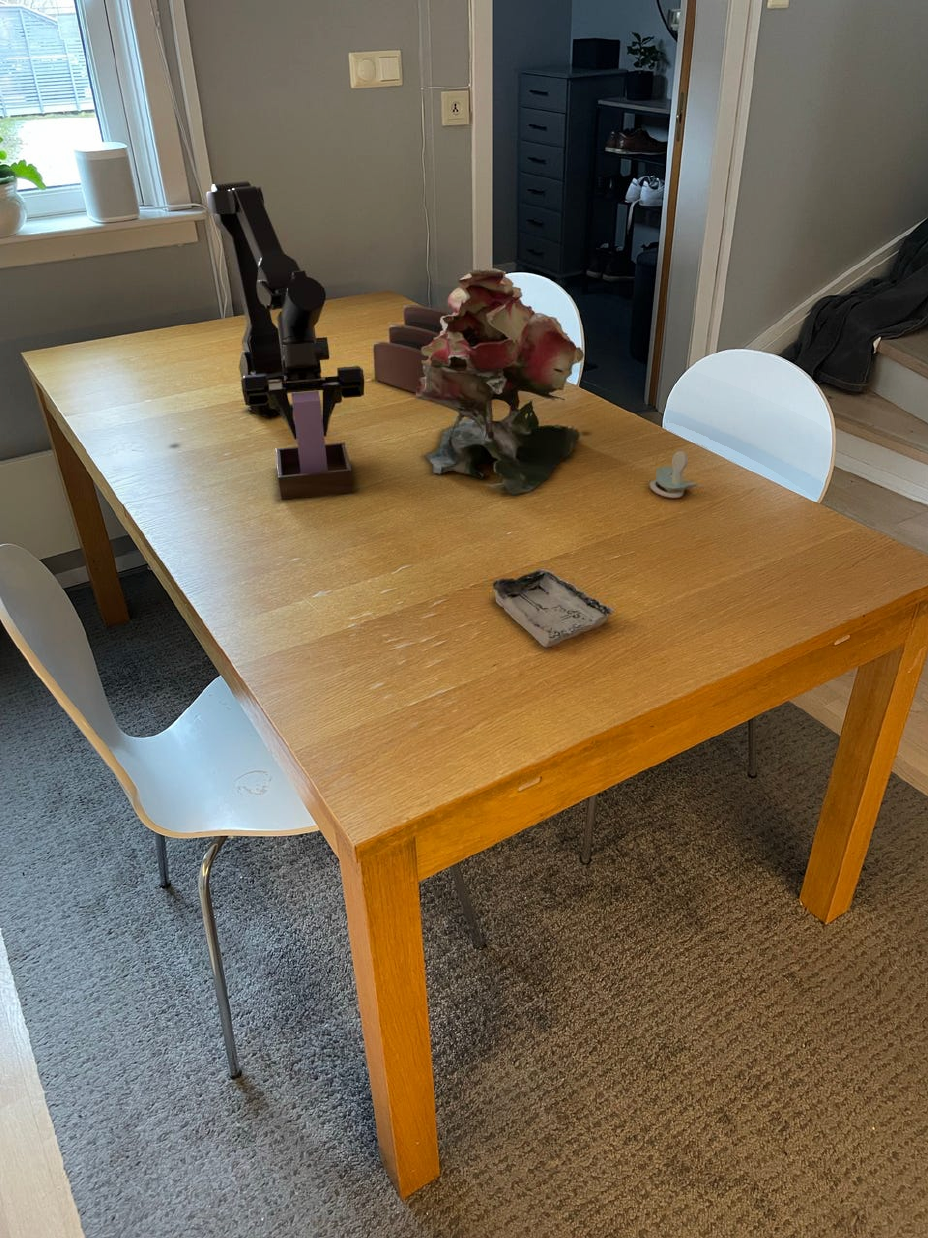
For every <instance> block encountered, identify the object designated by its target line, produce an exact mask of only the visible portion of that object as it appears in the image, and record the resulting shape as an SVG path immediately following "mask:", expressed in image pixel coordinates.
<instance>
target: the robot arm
mask: <svg viewBox="0 0 928 1238" xmlns="http://www.w3.org/2000/svg"><path fill="white" fill-rule="evenodd" d="M206 203H207V207H208V211H209V213H210V214H211V215H212V216H213V220H214V224H215V226H216V228H218V230H219V231H220V232H221V233H222V235H224V237H225V238H226V239H227V240H228V244H229V248H230V253H231V258H232V264H233V267H234V273H235V277H236V280H237V281H236V282H237V287H238V291H239V295H240V300H241V304H242V309H243V313H244V319H245V323H246V328H245V331H244V334H243V337H242V340H241V348H242V351H241V353H240V360H239V364H238V370H239V374H240V377H241V379H240V383H241V391H242V397H243V400H244V404H245V406H247V409H246V410H247V412H249V413H250V412H251V413H253V414H256V415H258V416H261V417H264V418H267V419H270V418H273V417H276V416H278V415H280V416H281V418H282V419H283V420H284V422H285V423H286V425H287V427H288V429H289V431H290V433H291V435H292V437H293V439H294V440H297V437H296V429H295V420H294V414H293V413H292V412H293V404H292V403H290V400H289V396H288V394H291V393H299V392H311V391H322V421H323V430H324V438H326V437H327V435H328V430H329V426H330V421H331V417H332V415H333V412H334V409H335V406H336V405H337V404H341V403H342V402H343V399H350V398H360V397H362V396H364V395H365V375H364V369H363V368H361V367H360V366H359V365H355V366H353V365H352V366H342V367H341V366H340V367H337V369H336V374H337V375H335V376H334V375H333V376H322V366H321V361H329V360H330V349H329V341H328V337H326V336H324V337H317V336H316V327H315V326H316V325H317V324H318V323H319V320H320V317H321V314H322V311H323V309H324V305H325V303H326V299H327V294H326V289H325V287H324V286H323V285H322V284H321V283H320V282H319V281H318V280H316V279H315V278H313V277H309V276H308V275H307V273H306V270H305V269H303V270H302V269H301V267H300V266H299V264H298V262H297V260H295V259H294V258H293V257H291V256H289V255H288V254H286V253H285V251H284V250H283V247H282V245H281V242H280V240H279V238H278V235H277V233H276V230H275V229H274V225H273V223H272V221H271V219H270V217H269V214H268V212H267V210H266V207H265V199H264V194H263V191H262V187H261V186H255V185H251V183H250V182H249V181H248V180H246V181H245V180H244V181H235V182H234V181H233V182H224V183H213V184H212V185H211V191H207V192H206ZM276 310H281V311H280V312H279V313H278V315H277V317H276V322H277V326H276V324H274V322H273V319H272V314H271V311H276ZM342 398H343V399H342Z"/></svg>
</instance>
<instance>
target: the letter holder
mask: <svg viewBox="0 0 928 1238" xmlns="http://www.w3.org/2000/svg"><path fill="white" fill-rule="evenodd" d="M402 312H403V323H404V324H391V325H389V327H388V341H389V342H387V341H376V342H374V343H373V345H372V346H373V347H372V353H373V374H374V380H375V381H377V382H380V383H384V384H386V385H390V386H393V387H395V388H399V389H402V390H404V391H408V392H411V393H414V394H416V388H417V387H421V386H422V383H421V381H420V380H419V379H420V378H422V377H425V374H424V372H423V371H424V369H423V366H424V365H423V364H422V361H426V360H428V359H429V356H426V355H423V354H422V353H421V348H422V347H424V346H428V345H429V344H431V343H432V341H434V338H436V337H438V336H439V335H440V332H441V331H442V330H443V328H442V325H441V323H440V320H441V317H443V316H447V315H453V313H454V312H451V311H447V310H443V309H439V308H436V307H431V306H423V305H416V304H415V305H414V304H408V305H407V304H406V305H404V307H403V311H402Z"/></svg>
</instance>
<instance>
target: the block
mask: <svg viewBox="0 0 928 1238" xmlns="http://www.w3.org/2000/svg"><path fill="white" fill-rule="evenodd" d="M319 391H320V390H318V391H306V392H294V393H290V394H291V405H293V409H292V412H293V419H294V423H295V429H296V437H297V439H296V442H297V444H296V445H297V447H298V453H299V461H300V469H301V474H304V473H315V472H325V471H328V468H327V458H326V449H325V444H326V440H325V437H324V430H323V421H322V413H323V410H322V403H321V396H320V392H319Z"/></svg>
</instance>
